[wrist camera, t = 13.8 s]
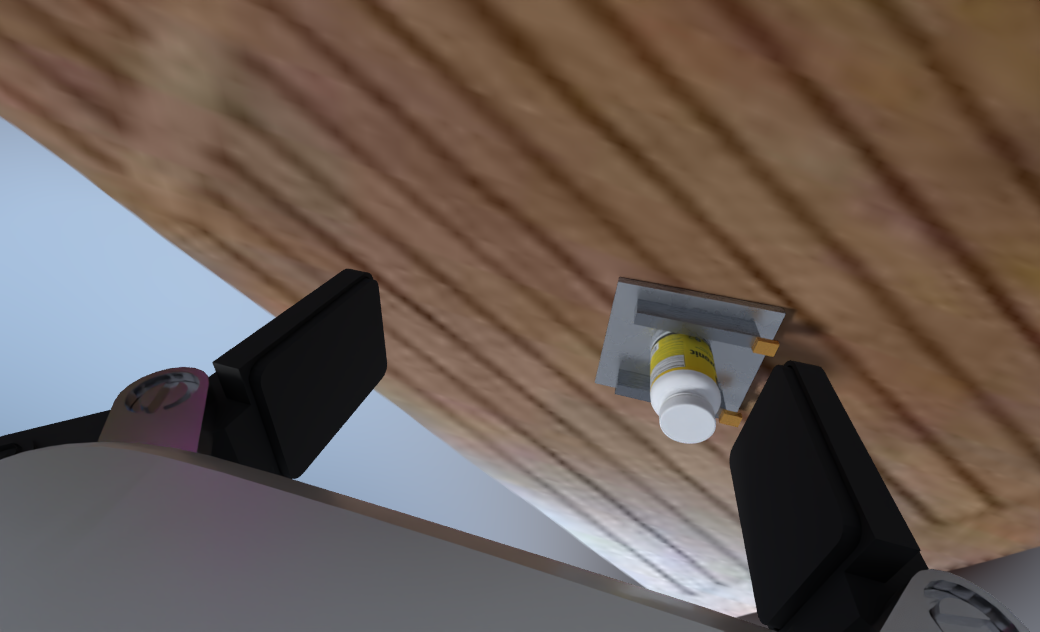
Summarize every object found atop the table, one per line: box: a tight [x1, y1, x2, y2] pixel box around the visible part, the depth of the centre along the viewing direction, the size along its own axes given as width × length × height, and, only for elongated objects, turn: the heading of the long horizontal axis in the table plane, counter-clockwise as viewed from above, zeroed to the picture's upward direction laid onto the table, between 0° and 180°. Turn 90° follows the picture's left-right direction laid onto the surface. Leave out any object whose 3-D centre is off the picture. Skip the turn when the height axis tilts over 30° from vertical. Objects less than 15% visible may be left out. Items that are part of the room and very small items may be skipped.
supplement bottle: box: [650, 331, 721, 443], centre depth 36 cm, size 5×5×10 cm
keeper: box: [595, 277, 786, 427], centre depth 40 cm, size 14×12×4 cm
